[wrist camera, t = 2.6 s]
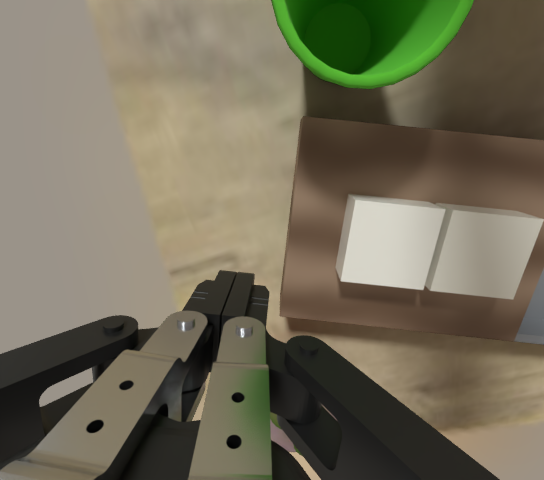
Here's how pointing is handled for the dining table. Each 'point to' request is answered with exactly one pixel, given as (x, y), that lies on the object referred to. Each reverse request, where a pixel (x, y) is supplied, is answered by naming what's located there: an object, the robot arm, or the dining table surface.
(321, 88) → the dining table surface
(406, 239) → the tile
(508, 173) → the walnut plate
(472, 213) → the tile
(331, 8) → the cup
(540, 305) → the box
